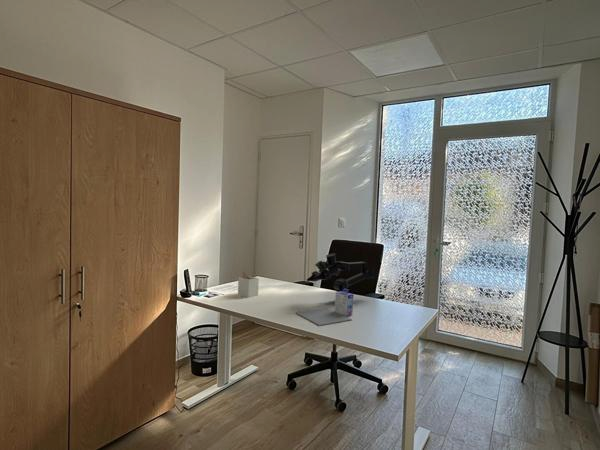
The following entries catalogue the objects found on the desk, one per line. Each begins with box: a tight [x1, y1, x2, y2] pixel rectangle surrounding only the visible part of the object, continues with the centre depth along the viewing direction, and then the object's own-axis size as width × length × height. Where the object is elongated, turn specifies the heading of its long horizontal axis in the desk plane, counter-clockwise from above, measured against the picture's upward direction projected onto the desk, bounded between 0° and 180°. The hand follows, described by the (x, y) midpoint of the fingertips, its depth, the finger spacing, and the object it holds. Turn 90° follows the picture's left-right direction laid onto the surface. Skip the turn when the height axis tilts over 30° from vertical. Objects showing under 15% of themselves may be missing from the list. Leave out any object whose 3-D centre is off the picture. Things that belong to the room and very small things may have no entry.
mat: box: [295, 307, 353, 327], centre depth 201 cm, size 22×24×1 cm
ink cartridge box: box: [334, 288, 354, 317], centre depth 209 cm, size 10×6×14 cm, turn 42°
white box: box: [237, 270, 260, 299], centre depth 243 cm, size 9×11×17 cm
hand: (309, 279), depth 223 cm, fingers open, 9 cm apart
